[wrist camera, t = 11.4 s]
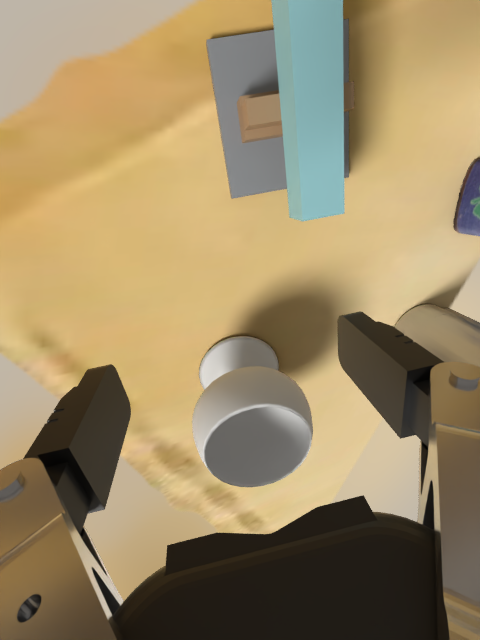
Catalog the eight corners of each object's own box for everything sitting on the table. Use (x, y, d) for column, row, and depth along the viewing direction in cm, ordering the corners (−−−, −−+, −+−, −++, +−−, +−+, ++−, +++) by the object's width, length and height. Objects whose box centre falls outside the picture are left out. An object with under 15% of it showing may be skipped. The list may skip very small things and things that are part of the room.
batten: (319, -31, 23) (342, -72, 19) (326, 210, 31) (344, 213, 27) (269, -24, 23) (283, -65, 19) (289, 217, 30) (302, 221, 27)
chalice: (214, 315, 40) (224, 380, 27) (299, 346, 44) (346, 415, 31) (179, 394, 45) (172, 483, 31) (259, 415, 49) (285, 502, 35)
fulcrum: (343, 23, 29) (377, -14, 24) (344, 177, 35) (372, 175, 30) (206, 44, 28) (209, 10, 23) (231, 198, 34) (238, 200, 29)
